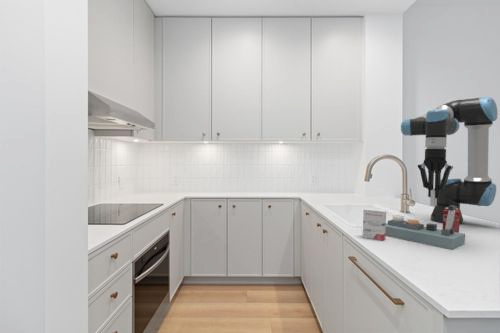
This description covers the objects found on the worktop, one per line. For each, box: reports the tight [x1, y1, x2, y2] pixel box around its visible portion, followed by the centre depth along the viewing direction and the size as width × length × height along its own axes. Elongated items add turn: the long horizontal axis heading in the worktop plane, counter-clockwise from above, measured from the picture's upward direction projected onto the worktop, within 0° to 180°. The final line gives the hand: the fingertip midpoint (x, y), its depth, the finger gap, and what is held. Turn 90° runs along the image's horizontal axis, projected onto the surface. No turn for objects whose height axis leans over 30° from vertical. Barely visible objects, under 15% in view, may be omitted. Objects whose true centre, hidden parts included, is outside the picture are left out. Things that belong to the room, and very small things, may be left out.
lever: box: [445, 205, 457, 233], centre depth 130 cm, size 4×2×11 cm, turn 131°
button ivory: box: [392, 214, 405, 223], centre depth 146 cm, size 4×4×2 cm
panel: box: [385, 219, 466, 250], centre depth 139 cm, size 14×29×6 cm, turn 41°
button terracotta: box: [406, 219, 420, 226], centre depth 141 cm, size 4×4×2 cm
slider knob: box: [425, 223, 438, 231], centre depth 138 cm, size 3×3×2 cm
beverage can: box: [442, 207, 460, 233], centre depth 147 cm, size 6×6×12 cm
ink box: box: [362, 208, 387, 241], centre depth 139 cm, size 9×5×12 cm, turn 59°
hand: (433, 205), depth 135 cm, fingers closed
